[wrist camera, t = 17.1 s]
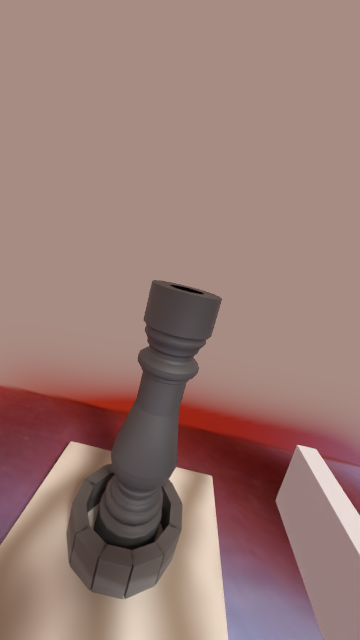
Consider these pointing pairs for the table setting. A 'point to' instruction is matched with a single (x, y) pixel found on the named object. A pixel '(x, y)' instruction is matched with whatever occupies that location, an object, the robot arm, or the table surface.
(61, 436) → the table surface
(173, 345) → the candle holder
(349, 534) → the robot arm
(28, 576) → the socket board
